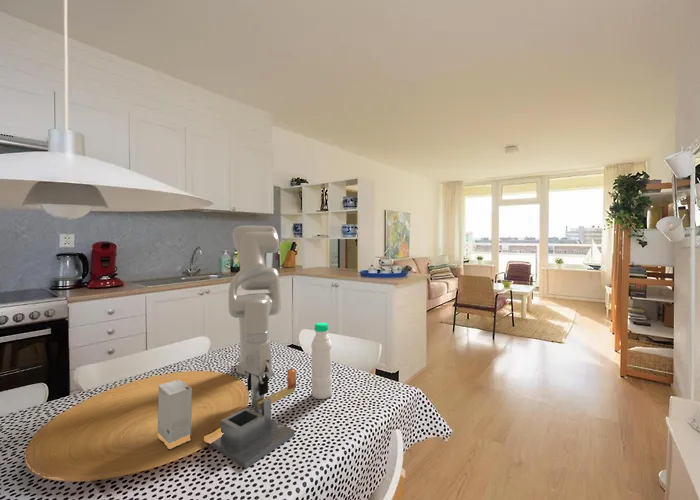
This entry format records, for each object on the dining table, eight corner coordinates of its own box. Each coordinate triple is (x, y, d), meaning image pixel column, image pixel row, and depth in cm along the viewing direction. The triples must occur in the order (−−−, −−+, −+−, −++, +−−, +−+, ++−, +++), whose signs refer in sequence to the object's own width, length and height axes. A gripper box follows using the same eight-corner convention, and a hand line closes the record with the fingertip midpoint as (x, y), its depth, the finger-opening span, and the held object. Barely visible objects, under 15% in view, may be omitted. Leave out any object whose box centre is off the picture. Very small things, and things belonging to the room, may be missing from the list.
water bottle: (329, 401, 108) (328, 326, 107) (308, 399, 109) (308, 325, 108) (334, 391, 115) (333, 321, 114) (315, 389, 116) (314, 320, 115)
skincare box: (157, 438, 87) (155, 385, 87) (180, 428, 92) (179, 377, 92) (169, 452, 82) (168, 394, 82) (193, 440, 87) (192, 386, 86)
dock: (203, 441, 86) (202, 408, 86) (253, 415, 99) (252, 386, 99) (245, 469, 76) (244, 431, 75) (294, 435, 89) (294, 403, 88)
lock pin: (255, 407, 91) (255, 384, 90) (291, 388, 102) (291, 368, 102) (261, 410, 89) (261, 386, 89) (297, 391, 100) (297, 370, 100)
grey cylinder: (246, 405, 105) (246, 369, 105) (259, 399, 109) (258, 364, 109) (256, 410, 102) (256, 372, 102) (268, 403, 106) (268, 367, 106)
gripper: (231, 335, 107) (232, 389, 107) (265, 344, 97) (265, 404, 97) (250, 329, 113) (250, 381, 114) (283, 338, 103) (284, 394, 104)
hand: (257, 391), depth 105 cm, fingers open, 5 cm apart
